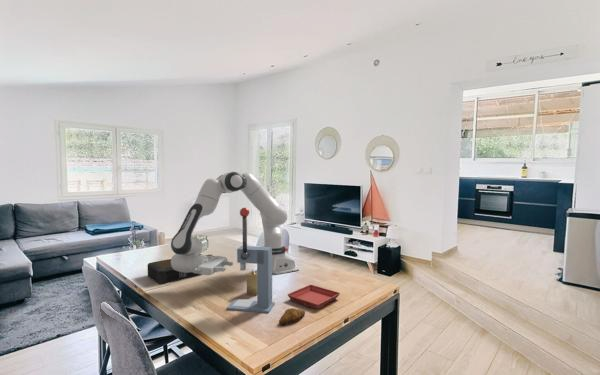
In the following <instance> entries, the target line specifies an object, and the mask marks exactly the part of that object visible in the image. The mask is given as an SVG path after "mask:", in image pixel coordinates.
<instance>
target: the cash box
mask: <svg viewBox="0 0 600 375" xmlns="http://www.w3.org/2000/svg"><path fill="white" fill-rule="evenodd" d="M199 276H203V275H202V274H199V273H193V272H189V273H186V272H179V271H176V270H174V269H173V268H172V266H171V258H169V259H164V260H157V261H152V262H149V263H147V278H149V279H151V280H153V281H154V282H155V283H157V284H158V285H165V284H168V283H169V284H170V283H174V282H178V281H181V280H186V279H190V278H195V277H199Z"/></svg>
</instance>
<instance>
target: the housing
mask: <svg viewBox="0 0 600 375" xmlns="http://www.w3.org/2000/svg"><path fill="white" fill-rule="evenodd" d="M246 295H247V296H257V271H255V269H252V270H251V271H249V272H247V274H246Z"/></svg>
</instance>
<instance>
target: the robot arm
mask: <svg viewBox="0 0 600 375" xmlns="http://www.w3.org/2000/svg"><path fill="white" fill-rule="evenodd" d="M238 191H241V192H242V193H243V194H244V196H245V197H246V198H247V199H248V200H249V202H250V203H251V204H252V205H253V207H255V208H256V209H257V211H259V215H260V217H261V224H262V229H263V239H264V240H263V247H272V275H273V274H274V275H280V274H285V273H286V274H287V273H292V271H293V272H297V270H298V271H299V270H300V267H299V266H298V265H297V264H296V261H295V258H294V257H293V256H291V255H290V254H289V253H288V251H289V248H288V247H286V246H284V245H283V244H284V243H283V242H284V240H283V238H284V237H283V231H282V228H281V225H283V224H285V223H286V222H287V220H288V212H287V211H286V209H285V208H283V207H282V206H281V204H279V202H278V201H276V199H275V198H274V197H273V196H271V194H270V193H269V192H268V191H267V189H266V188H265V187H264V186H263V184H261V182H260V181H259V180H258V179H257V178H256V177H255V176H254V175H253V174H252V173H250V172H244V173H240V172H237V171H228V172H226V173H224V174H221V175H219V176H218V177H217V178H212V177H211V178H207V179H206V180H205V181H204V182H203V184H202V185H201V187H200V190H199V192H198V194H197V196H196V199H195V201H194V203H193V204H192V206H191V207H190V208H189V210H188V212H187V214H186V216H185V218H184V220H183V222H182V223H181V225H180V228H179V229H178V231H177V233H176V234H175V235H174V236H173V238H172V239H171V242H170V248H171V251H172V252H173V253H174V255H172V257H171V258H170V259H171V266H172V268H173V269H174V270H176V271H179V272H186V273H189V272H193V273H199V274H202V275H201V276H203V275H204V276H212V275H213V274H215V273H218V272H219V273H220V272H225V271H226V266H229V267H232V266H233V265H234V262H233V261H231V260H230V261H229V260H228V257H226V256H220V255H213V254H206V255H203V254H202V256H201V255H200V254H201V253H200V252H201V249H202V243H201V241H200V240H199V239H198V238H195V237H194V236H193V232H194V231H195V228H196V226H197V223H198V222H199V220H200V219H202V218H203V217H205V216H209V215H211V214H213V213H214V212H215V210H216V209H217V206H218V204H219V201H220V199H221V198H220V197H221V195H222V194H232V193H234V192H238Z"/></svg>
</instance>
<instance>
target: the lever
mask: <svg viewBox="0 0 600 375" xmlns="http://www.w3.org/2000/svg"><path fill="white" fill-rule="evenodd" d="M239 215H240V217H242V221H241V222H242V246H243V253H242V254H241V258H242V259H243V260H246V259H247V258H248V257H249V253H248V252H247V246H248V219H247V218H248V216H250V210H249V208H248V207H242V208H240V210H239Z"/></svg>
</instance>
